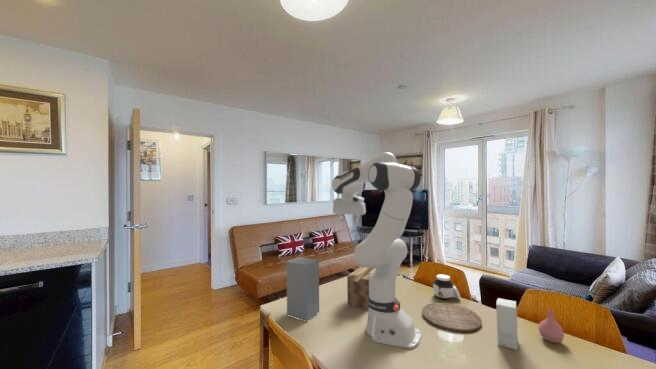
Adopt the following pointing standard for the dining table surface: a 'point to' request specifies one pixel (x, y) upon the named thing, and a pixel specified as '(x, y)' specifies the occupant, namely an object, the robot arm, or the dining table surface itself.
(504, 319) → the skincare box
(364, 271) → the oak bar
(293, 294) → the tall stand
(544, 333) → the pink teardrop-shaped piece
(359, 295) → the walnut block
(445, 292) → the spread jar
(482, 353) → the dining table surface
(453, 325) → the trivet
